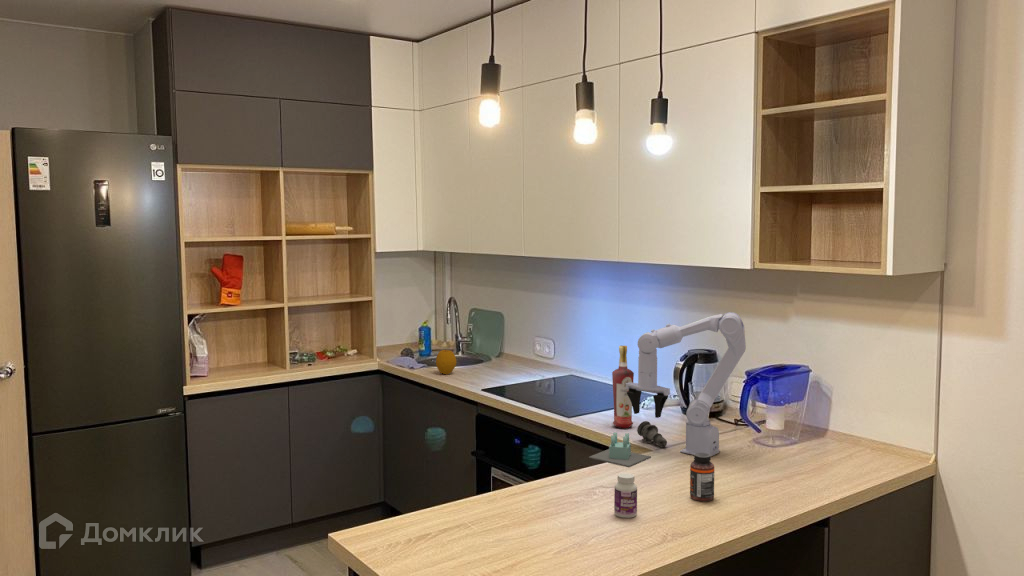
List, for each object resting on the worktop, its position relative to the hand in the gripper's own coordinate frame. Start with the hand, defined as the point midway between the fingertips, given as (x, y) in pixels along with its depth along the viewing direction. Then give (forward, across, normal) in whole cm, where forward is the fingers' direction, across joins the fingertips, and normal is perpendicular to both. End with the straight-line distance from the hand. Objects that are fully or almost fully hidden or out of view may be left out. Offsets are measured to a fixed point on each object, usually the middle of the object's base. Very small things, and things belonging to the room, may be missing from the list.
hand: (647, 415), depth 243 cm
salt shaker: (+7, +6, -8) cm, 12 cm away
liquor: (+11, +20, -17) cm, 28 cm away
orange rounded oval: (+11, +137, -47) cm, 145 cm away
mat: (+10, +1, +14) cm, 17 cm away
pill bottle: (+11, -26, +52) cm, 59 cm away
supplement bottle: (+10, -34, +30) cm, 47 cm away
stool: (+10, +1, +14) cm, 17 cm away
